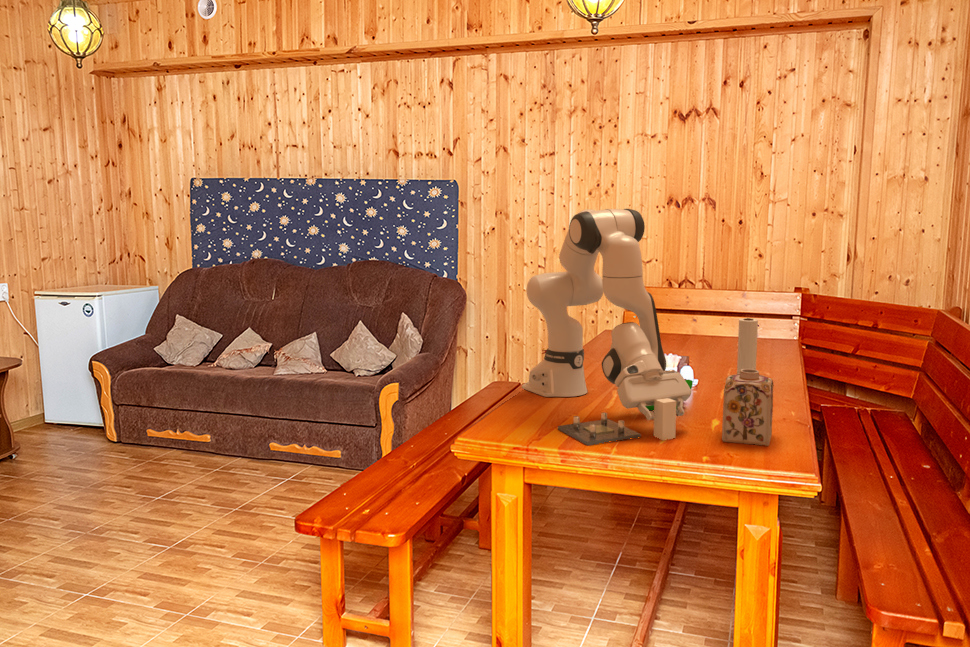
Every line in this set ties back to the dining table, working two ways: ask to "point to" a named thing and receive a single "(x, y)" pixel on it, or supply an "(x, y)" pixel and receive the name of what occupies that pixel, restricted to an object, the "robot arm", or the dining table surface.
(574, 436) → the grey square base plate
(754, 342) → the tan cylinder
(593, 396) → the dining table surface
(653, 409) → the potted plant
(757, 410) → the decorative jar
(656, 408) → the post
